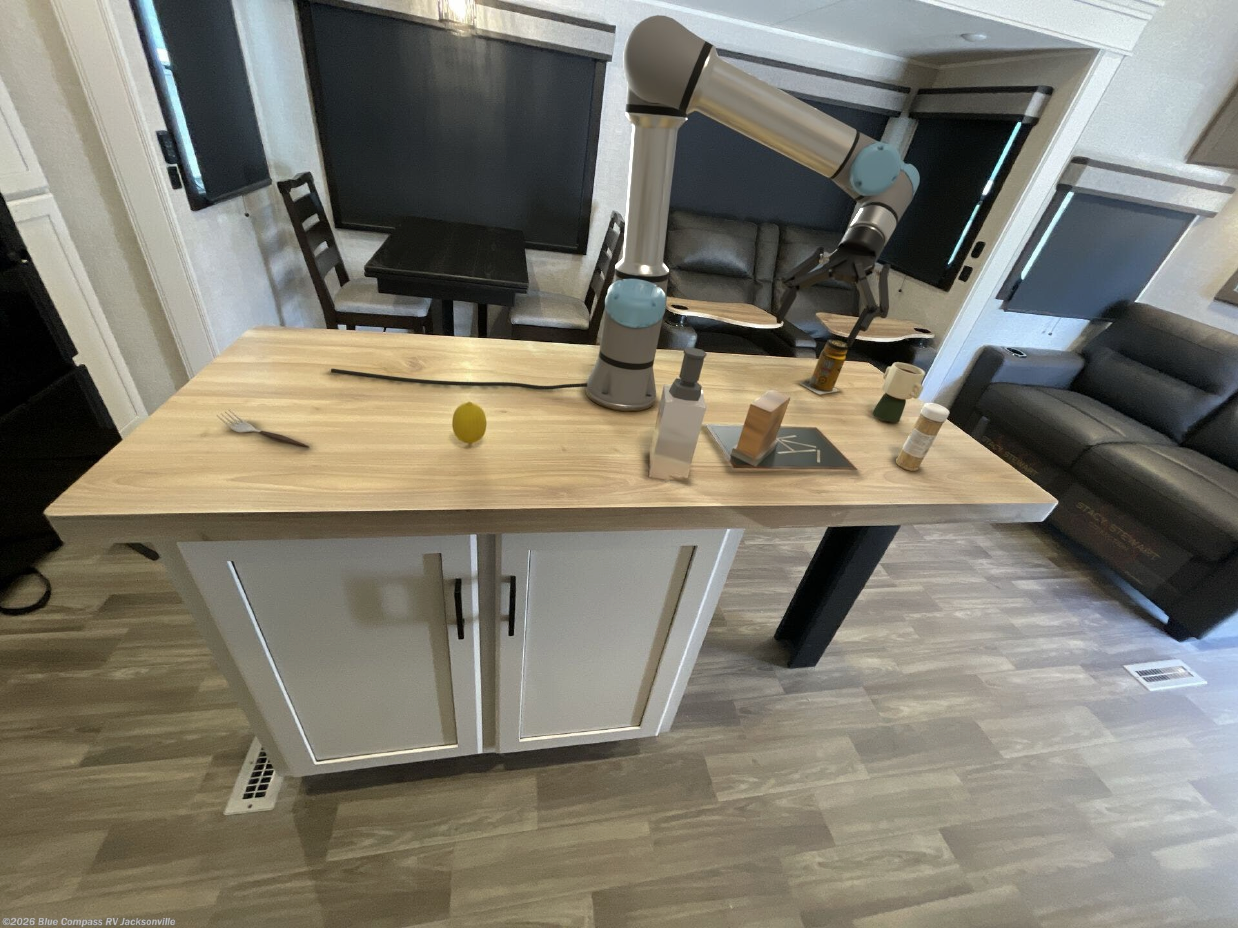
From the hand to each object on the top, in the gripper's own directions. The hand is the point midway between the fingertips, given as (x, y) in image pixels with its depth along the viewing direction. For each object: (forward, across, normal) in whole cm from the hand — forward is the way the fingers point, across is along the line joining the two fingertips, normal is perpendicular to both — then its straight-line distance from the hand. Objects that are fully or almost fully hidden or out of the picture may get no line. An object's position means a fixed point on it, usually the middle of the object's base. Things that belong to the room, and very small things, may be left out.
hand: (812, 331), depth 97 cm
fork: (+66, +59, +34) cm, 95 cm away
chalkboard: (+19, -2, -13) cm, 24 cm away
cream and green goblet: (-6, -15, -39) cm, 43 cm away
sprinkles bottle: (+8, -24, -25) cm, 36 cm away
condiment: (-9, +3, -42) cm, 43 cm away
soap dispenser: (+35, +10, +3) cm, 37 cm away
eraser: (+23, 0, -8) cm, 24 cm away
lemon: (+50, +37, +18) cm, 65 cm away
